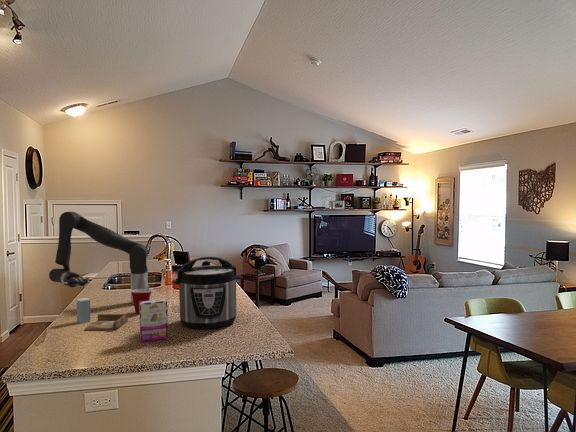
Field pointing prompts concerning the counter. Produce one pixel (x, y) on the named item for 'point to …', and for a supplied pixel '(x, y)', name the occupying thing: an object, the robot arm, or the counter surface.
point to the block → (83, 310)
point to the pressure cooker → (207, 293)
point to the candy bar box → (153, 320)
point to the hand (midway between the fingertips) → (83, 283)
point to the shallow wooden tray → (108, 322)
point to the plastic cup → (140, 297)
